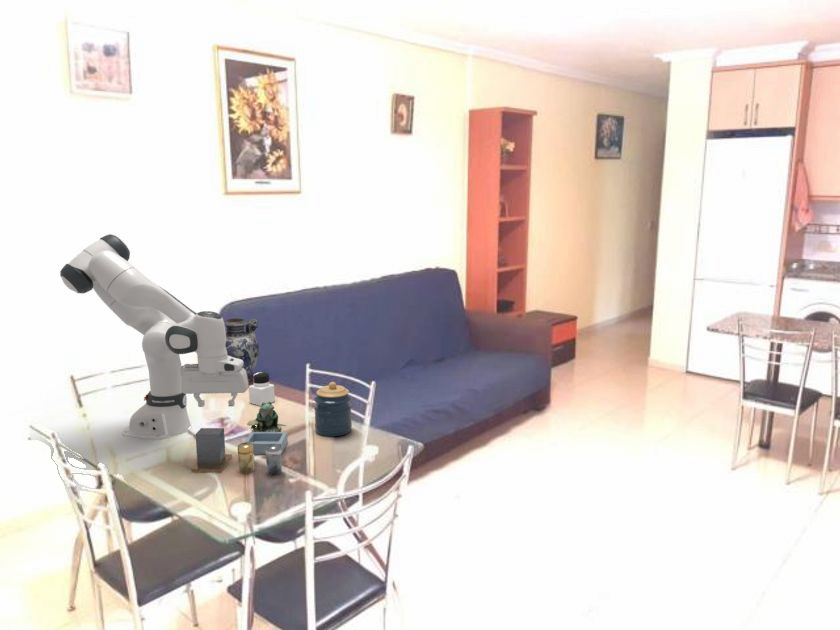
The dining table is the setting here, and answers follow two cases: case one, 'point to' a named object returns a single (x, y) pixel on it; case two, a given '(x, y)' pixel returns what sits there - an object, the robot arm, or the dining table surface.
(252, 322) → the decorative vase
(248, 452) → the gold lidded glass jar
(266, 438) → the tray
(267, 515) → the dining table surface
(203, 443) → the block
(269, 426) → the frog figurine
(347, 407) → the canister
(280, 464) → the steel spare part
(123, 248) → the robot arm
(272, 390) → the medicine bottle
